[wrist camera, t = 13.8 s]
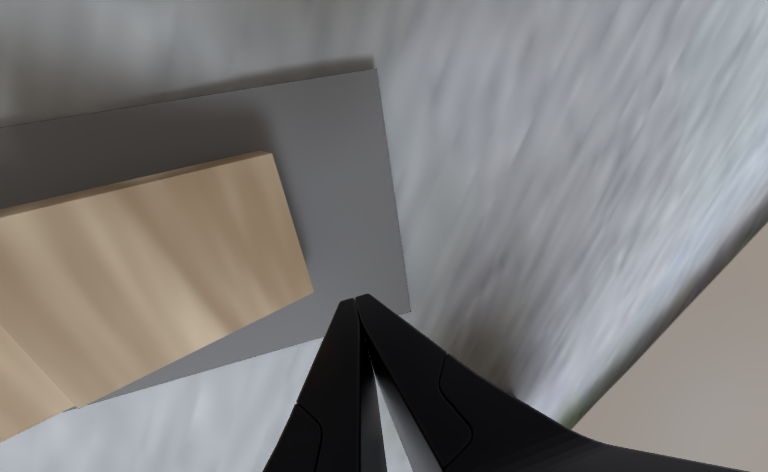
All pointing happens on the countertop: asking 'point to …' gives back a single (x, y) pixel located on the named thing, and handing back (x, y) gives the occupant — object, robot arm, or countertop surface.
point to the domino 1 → (25, 390)
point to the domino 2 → (146, 270)
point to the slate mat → (231, 138)
